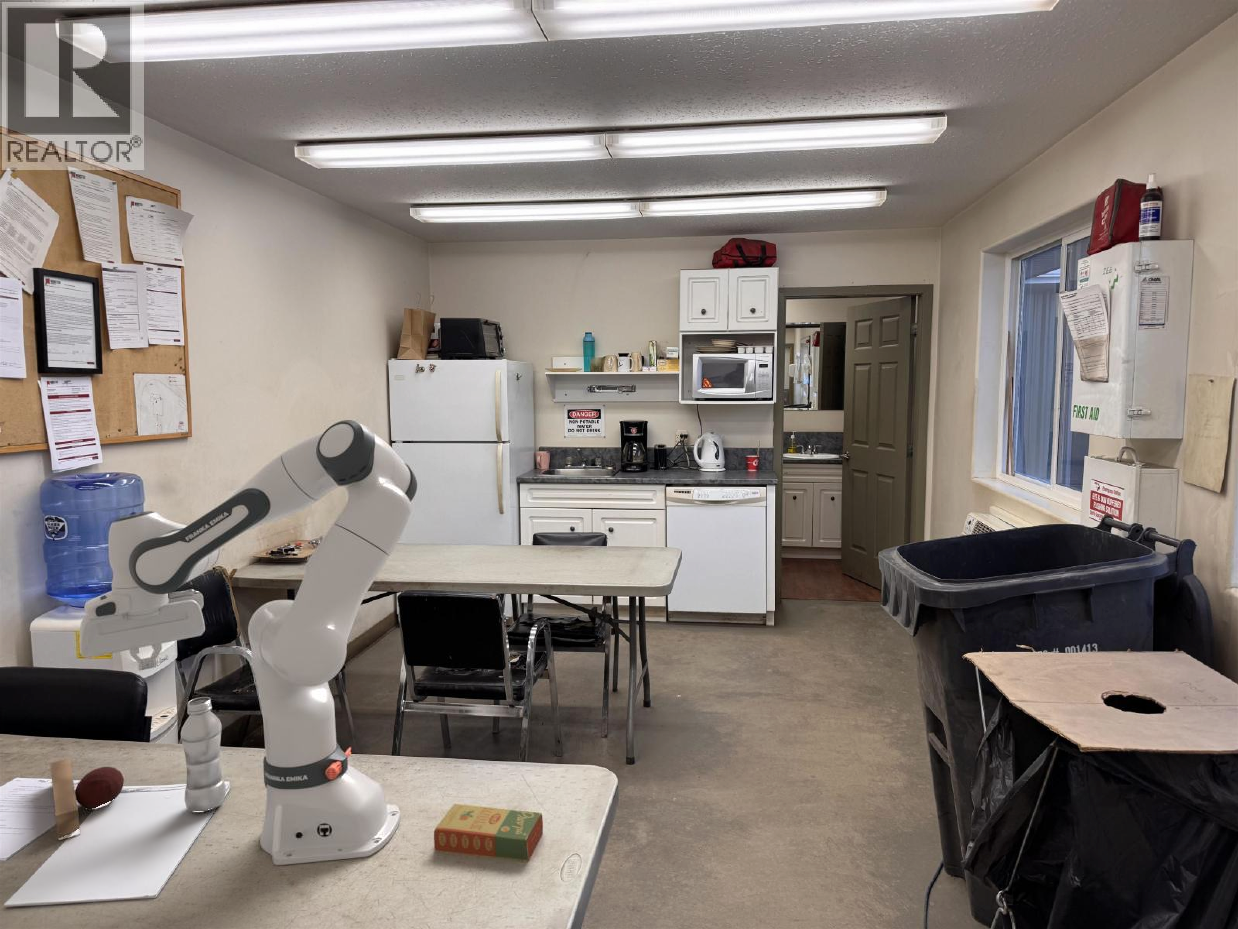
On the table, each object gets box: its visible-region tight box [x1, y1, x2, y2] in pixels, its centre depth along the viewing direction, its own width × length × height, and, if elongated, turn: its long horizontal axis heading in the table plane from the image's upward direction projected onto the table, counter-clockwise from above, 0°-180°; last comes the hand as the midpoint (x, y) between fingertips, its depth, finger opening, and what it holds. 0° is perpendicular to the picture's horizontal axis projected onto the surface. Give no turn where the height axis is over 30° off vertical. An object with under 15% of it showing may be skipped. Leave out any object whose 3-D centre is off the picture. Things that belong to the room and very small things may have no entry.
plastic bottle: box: [180, 696, 227, 812], centre depth 136 cm, size 6×7×20 cm
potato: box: [75, 766, 125, 810], centre depth 139 cm, size 7×8×7 cm
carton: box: [433, 803, 544, 863], centre depth 125 cm, size 8×16×4 cm, turn 78°
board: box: [50, 758, 81, 839], centre depth 138 cm, size 3×24×4 cm, turn 39°
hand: (147, 668), depth 144 cm, fingers closed
